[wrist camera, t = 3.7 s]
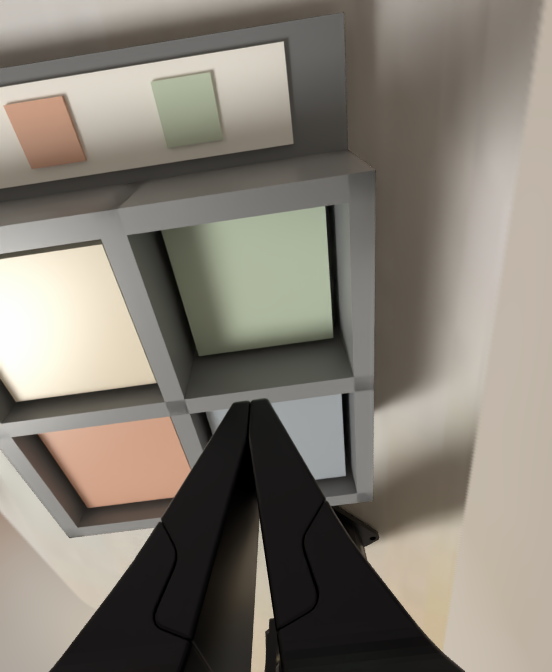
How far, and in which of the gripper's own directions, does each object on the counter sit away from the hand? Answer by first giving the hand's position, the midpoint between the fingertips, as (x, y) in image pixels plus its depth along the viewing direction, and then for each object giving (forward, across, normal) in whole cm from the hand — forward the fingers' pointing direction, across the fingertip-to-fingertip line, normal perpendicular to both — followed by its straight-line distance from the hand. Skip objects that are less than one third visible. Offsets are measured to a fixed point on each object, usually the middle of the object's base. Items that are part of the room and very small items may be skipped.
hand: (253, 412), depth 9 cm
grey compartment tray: (+10, +4, +2) cm, 11 cm away
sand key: (+7, +8, 0) cm, 10 cm away
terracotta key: (+7, +8, +8) cm, 13 cm away
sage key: (+9, 0, 0) cm, 9 cm away
